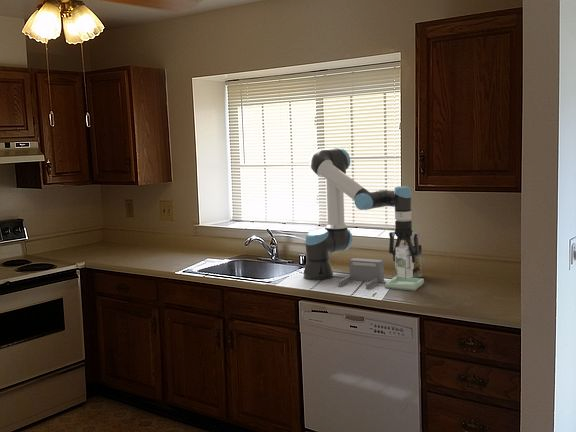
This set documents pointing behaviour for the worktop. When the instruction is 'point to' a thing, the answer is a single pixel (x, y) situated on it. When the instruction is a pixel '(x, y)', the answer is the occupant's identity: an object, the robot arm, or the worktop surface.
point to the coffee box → (417, 263)
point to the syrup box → (403, 262)
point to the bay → (365, 271)
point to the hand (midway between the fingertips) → (404, 268)
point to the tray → (404, 283)
